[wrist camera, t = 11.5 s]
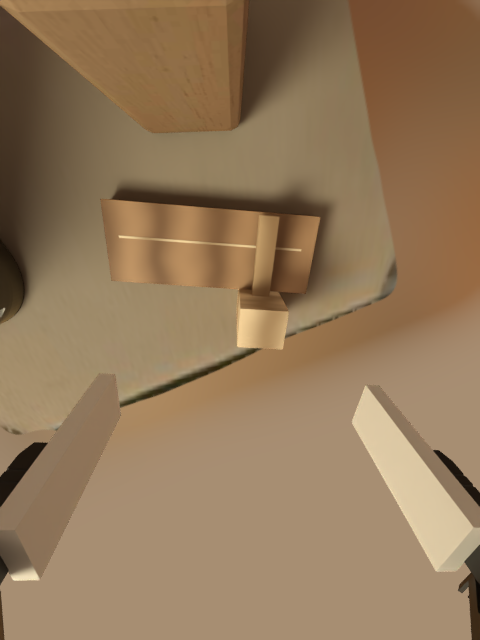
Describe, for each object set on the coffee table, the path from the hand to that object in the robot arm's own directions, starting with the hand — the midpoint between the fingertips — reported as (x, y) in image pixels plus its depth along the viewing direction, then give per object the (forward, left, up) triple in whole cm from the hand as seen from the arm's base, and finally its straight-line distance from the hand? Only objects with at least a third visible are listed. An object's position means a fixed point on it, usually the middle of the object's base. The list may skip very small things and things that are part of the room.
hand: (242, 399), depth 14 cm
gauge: (+3, +2, -22) cm, 23 cm away
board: (-3, +4, -22) cm, 23 cm away
